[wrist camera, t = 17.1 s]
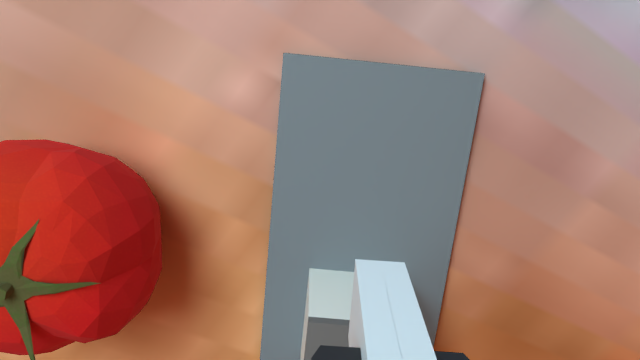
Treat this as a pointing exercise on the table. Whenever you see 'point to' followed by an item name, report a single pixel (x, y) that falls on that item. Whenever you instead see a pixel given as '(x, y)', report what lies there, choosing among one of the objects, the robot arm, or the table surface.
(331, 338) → the cream block
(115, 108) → the table surface
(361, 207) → the rubber mat
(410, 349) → the robot arm
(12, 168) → the tomato
